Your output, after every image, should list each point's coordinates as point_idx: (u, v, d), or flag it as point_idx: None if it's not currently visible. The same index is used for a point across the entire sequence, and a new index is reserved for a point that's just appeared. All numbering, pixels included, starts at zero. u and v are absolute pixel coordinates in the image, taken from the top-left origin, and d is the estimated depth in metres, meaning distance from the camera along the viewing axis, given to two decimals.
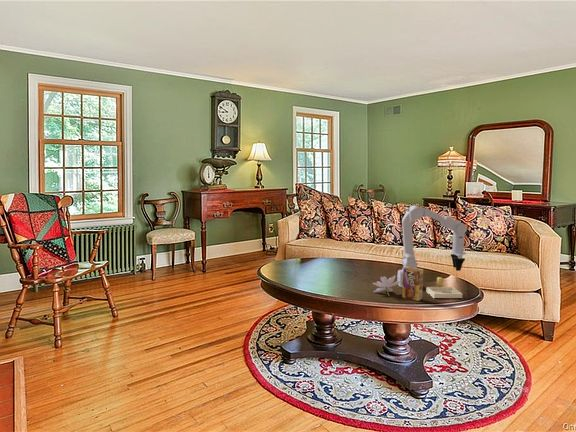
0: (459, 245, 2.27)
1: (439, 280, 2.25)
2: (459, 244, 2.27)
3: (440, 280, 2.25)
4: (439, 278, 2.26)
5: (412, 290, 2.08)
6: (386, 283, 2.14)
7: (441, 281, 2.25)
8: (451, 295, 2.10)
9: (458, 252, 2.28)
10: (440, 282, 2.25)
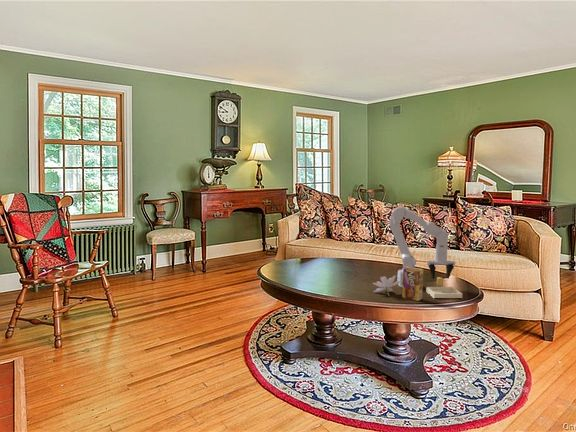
0: (436, 253, 2.25)
1: (439, 280, 2.25)
2: (440, 253, 2.23)
3: (440, 280, 2.25)
4: (439, 278, 2.26)
5: (412, 290, 2.08)
6: (386, 283, 2.14)
7: (441, 281, 2.25)
8: (451, 295, 2.10)
9: (435, 260, 2.26)
10: (440, 282, 2.25)
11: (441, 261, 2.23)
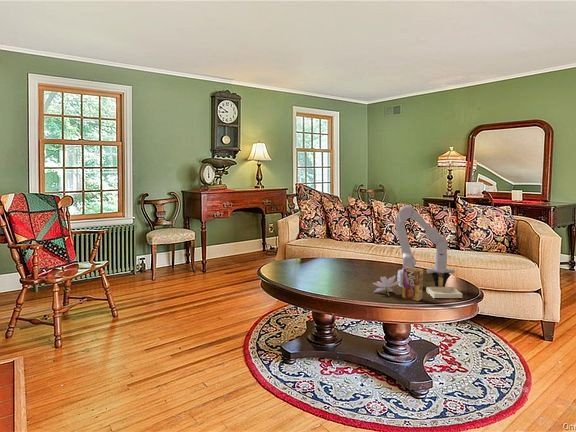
0: (435, 261, 2.26)
1: (439, 280, 2.25)
2: (440, 261, 2.23)
3: (440, 280, 2.25)
4: (439, 278, 2.26)
5: (412, 290, 2.08)
6: (386, 283, 2.14)
7: (441, 281, 2.25)
8: (451, 295, 2.10)
9: (435, 268, 2.26)
10: (440, 282, 2.25)
11: (441, 269, 2.23)
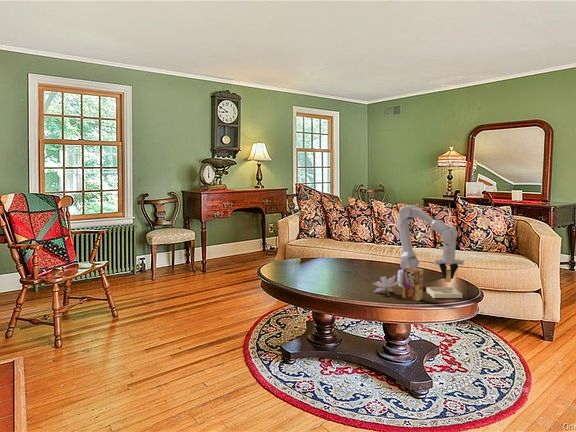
0: (443, 252, 2.15)
1: (447, 272, 2.15)
2: (445, 251, 2.13)
3: (448, 272, 2.15)
4: (447, 270, 2.16)
5: (412, 290, 2.08)
6: (386, 283, 2.14)
7: (449, 273, 2.15)
8: (451, 295, 2.10)
9: (443, 259, 2.16)
10: (448, 274, 2.15)
11: (449, 260, 2.13)
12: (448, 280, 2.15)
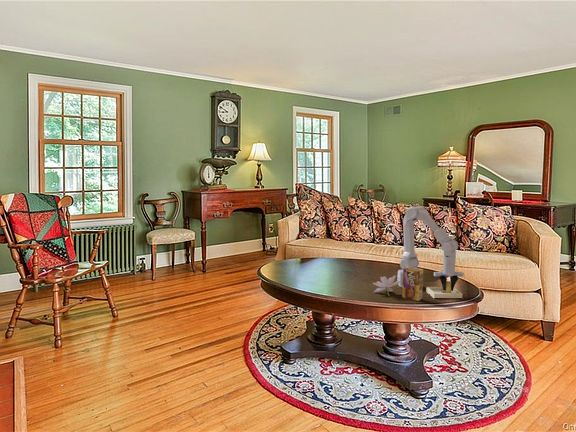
0: (443, 264, 2.15)
1: (447, 284, 2.15)
2: (445, 263, 2.13)
3: (448, 284, 2.15)
4: (447, 282, 2.15)
5: (412, 290, 2.08)
6: (386, 283, 2.14)
7: (449, 285, 2.15)
8: (451, 295, 2.10)
9: (443, 271, 2.15)
10: (448, 286, 2.15)
11: (449, 272, 2.12)
12: (448, 292, 2.15)
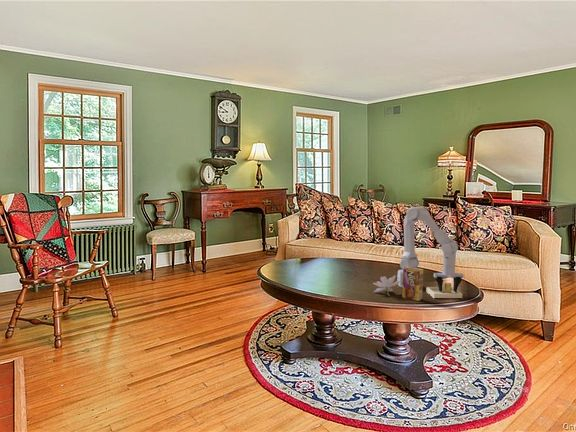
0: (443, 265, 2.15)
1: (447, 285, 2.15)
2: (445, 265, 2.13)
3: (448, 286, 2.15)
4: (447, 284, 2.15)
5: (412, 290, 2.08)
6: (386, 283, 2.14)
7: (449, 287, 2.15)
8: (451, 295, 2.10)
9: None
10: (448, 287, 2.15)
11: (449, 274, 2.12)
12: None
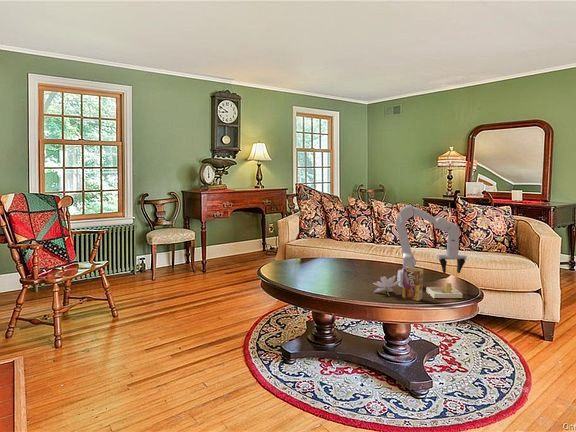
0: (447, 247, 2.23)
1: (447, 285, 2.15)
2: (451, 247, 2.20)
3: (448, 286, 2.15)
4: (447, 284, 2.15)
5: (412, 290, 2.08)
6: (386, 283, 2.14)
7: (449, 287, 2.15)
8: (451, 295, 2.10)
9: None
10: (448, 287, 2.15)
11: (452, 255, 2.21)
12: None
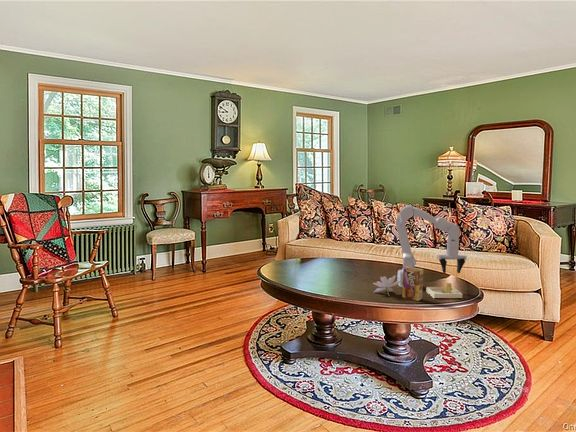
0: (447, 247, 2.23)
1: (447, 285, 2.15)
2: (451, 247, 2.20)
3: (448, 286, 2.15)
4: (447, 284, 2.15)
5: (412, 290, 2.08)
6: (386, 283, 2.14)
7: (449, 287, 2.15)
8: (451, 295, 2.10)
9: None
10: (448, 287, 2.15)
11: (452, 255, 2.21)
12: None
